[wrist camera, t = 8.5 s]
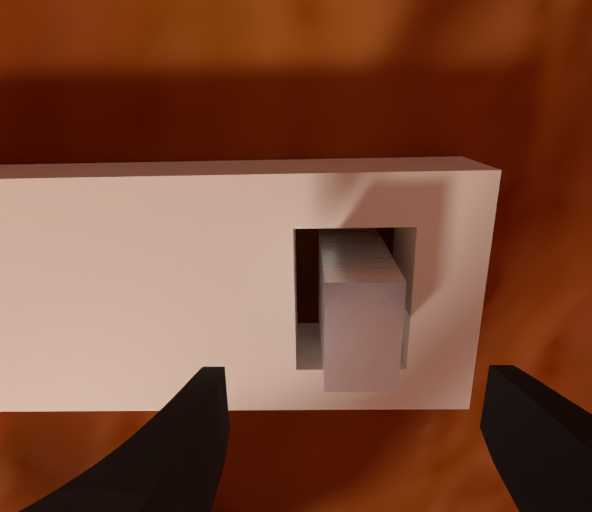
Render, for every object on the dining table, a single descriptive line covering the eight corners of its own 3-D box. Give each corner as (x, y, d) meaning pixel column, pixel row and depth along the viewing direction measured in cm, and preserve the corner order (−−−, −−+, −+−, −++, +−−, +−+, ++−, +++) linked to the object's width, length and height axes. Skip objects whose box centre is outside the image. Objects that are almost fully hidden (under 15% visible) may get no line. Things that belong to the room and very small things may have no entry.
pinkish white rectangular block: (369, 301, 21) (398, 392, 15) (317, 301, 21) (323, 392, 15) (372, 222, 20) (406, 282, 13) (318, 222, 20) (324, 282, 13)
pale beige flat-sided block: (441, 356, 22) (469, 409, 18) (14, 360, 23) (-44, 411, 19) (462, 156, 19) (501, 170, 15) (-39, 165, 19) (-122, 181, 16)
